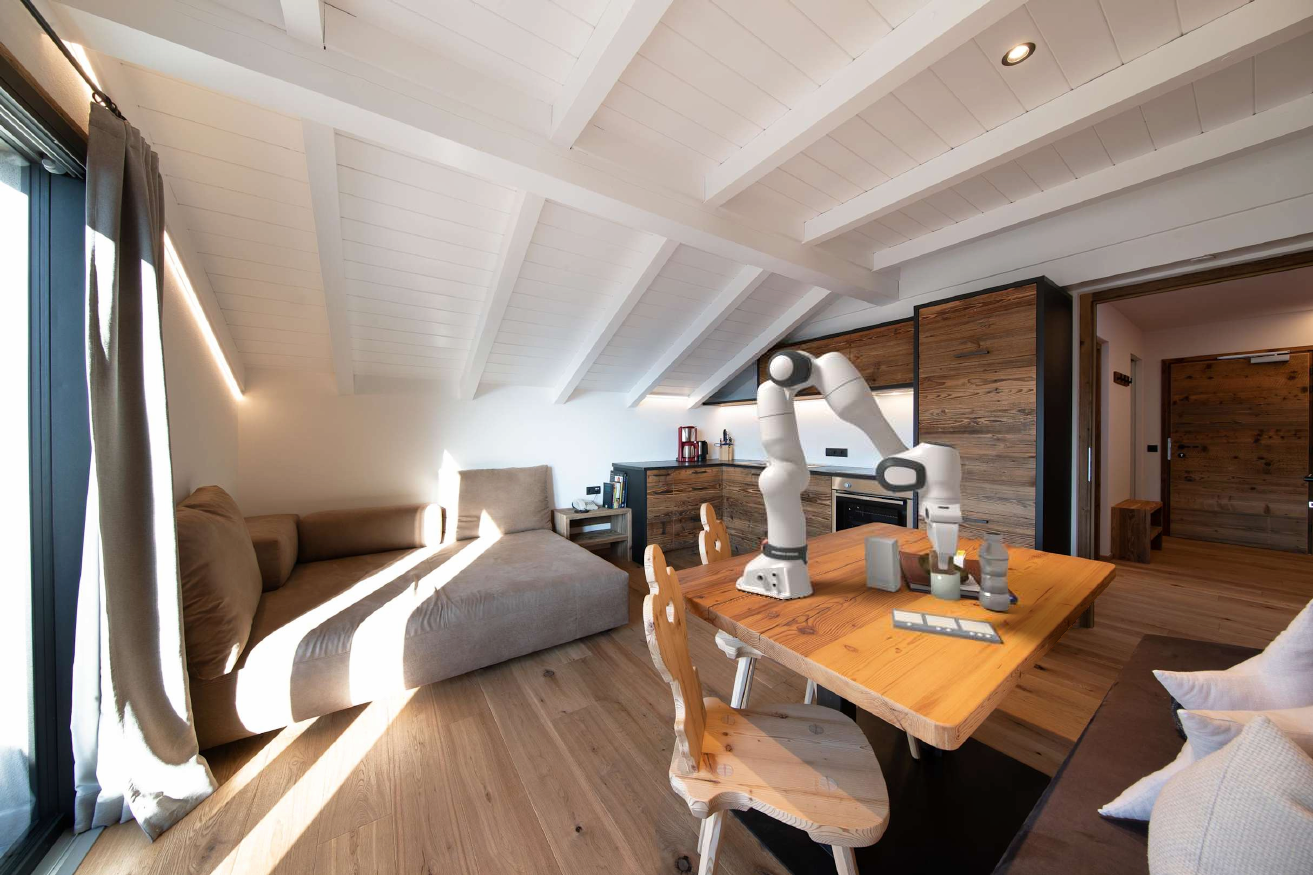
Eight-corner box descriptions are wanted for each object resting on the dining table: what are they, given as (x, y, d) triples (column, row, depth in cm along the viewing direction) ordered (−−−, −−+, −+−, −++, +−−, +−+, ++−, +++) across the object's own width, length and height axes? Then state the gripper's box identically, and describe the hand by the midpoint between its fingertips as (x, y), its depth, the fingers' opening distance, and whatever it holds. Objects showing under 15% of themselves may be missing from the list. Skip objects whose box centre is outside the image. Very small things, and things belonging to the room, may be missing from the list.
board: (893, 627, 106) (893, 622, 106) (891, 611, 115) (891, 607, 115) (1000, 643, 97) (1000, 638, 97) (989, 625, 106) (989, 620, 106)
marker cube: (931, 573, 105) (931, 554, 105) (929, 567, 110) (929, 549, 109) (954, 575, 104) (953, 556, 103) (950, 569, 108) (950, 551, 108)
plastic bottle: (1016, 614, 112) (1015, 537, 111) (986, 613, 113) (985, 536, 113) (1001, 604, 118) (1001, 531, 118) (973, 603, 120) (972, 530, 119)
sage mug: (932, 598, 124) (932, 573, 124) (929, 589, 130) (929, 565, 130) (962, 601, 121) (962, 576, 121) (958, 593, 127) (957, 568, 127)
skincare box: (901, 587, 132) (900, 538, 132) (894, 593, 128) (893, 542, 128) (871, 581, 138) (871, 534, 138) (864, 586, 134) (863, 538, 134)
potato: (959, 589, 130) (959, 562, 130) (914, 577, 141) (914, 552, 141) (972, 583, 134) (971, 557, 134) (927, 572, 145) (927, 548, 145)
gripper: (920, 500, 117) (921, 552, 117) (930, 515, 99) (931, 576, 99) (948, 502, 114) (949, 554, 115) (963, 516, 96) (964, 579, 96)
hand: (940, 564), depth 107 cm, fingers closed on marker cube, 4 cm apart
